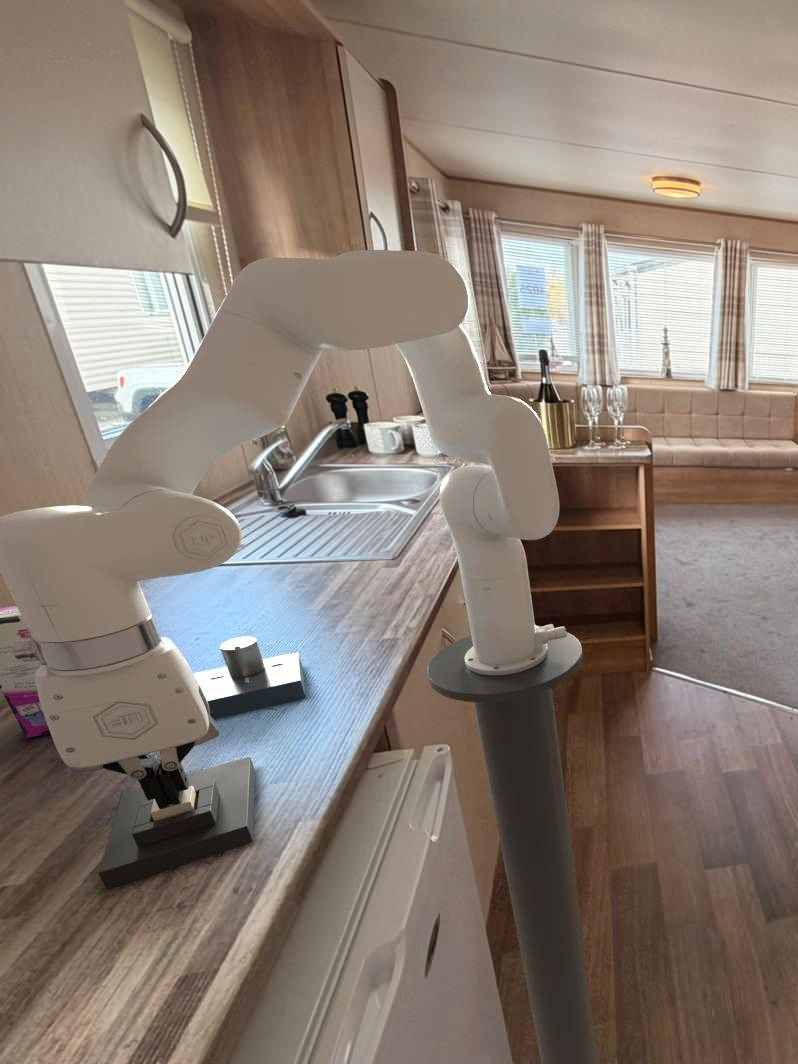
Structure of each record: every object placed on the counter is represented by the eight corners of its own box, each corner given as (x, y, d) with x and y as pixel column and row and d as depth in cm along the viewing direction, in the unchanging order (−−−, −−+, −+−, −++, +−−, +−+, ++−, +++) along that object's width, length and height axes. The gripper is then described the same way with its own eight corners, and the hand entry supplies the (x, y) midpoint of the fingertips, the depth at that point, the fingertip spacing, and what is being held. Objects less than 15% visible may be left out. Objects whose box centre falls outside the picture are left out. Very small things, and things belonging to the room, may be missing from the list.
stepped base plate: (255, 771, 77) (245, 744, 76) (253, 842, 67) (241, 812, 66) (129, 806, 71) (116, 777, 70) (106, 890, 61) (90, 859, 60)
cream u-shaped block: (198, 798, 68) (192, 785, 68) (195, 814, 66) (190, 801, 66) (160, 809, 67) (154, 796, 66) (156, 826, 65) (150, 812, 64)
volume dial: (230, 668, 93) (220, 639, 91) (265, 661, 95) (255, 632, 93) (228, 680, 90) (217, 650, 88) (264, 672, 92) (254, 643, 90)
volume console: (303, 666, 100) (297, 648, 99) (305, 698, 92) (300, 679, 91) (201, 687, 93) (194, 668, 92) (195, 724, 85) (187, 704, 84)
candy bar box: (152, 698, 90) (108, 592, 84) (144, 715, 86) (97, 605, 80) (38, 720, 84) (-20, 608, 78) (24, 739, 81) (-38, 623, 74)
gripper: (-38, 682, 52) (58, 852, 59) (206, 638, 60) (263, 791, 67) (-9, 646, 57) (76, 806, 64) (212, 609, 65) (264, 754, 73)
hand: (172, 798), depth 66 cm, fingers closed
